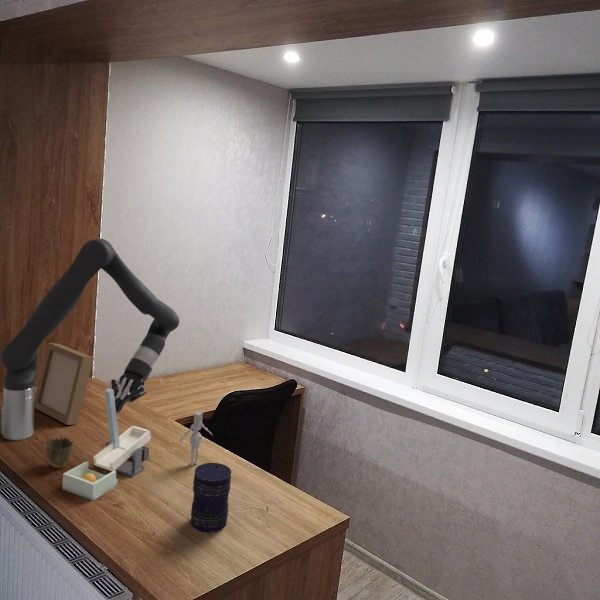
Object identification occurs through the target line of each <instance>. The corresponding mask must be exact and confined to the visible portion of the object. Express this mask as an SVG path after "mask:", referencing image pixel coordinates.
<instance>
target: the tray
mask: <svg viewBox="0 0 600 600" xmlns="http://www.w3.org/2000/svg"><path fill="white" fill-rule="evenodd" d="M89 465H90V463H89V461H87V460H86V461H85V462H83V463H81V464H79V465H76V466H75V467H73V468H71V469H69V470H67V471H66V472H64V473H62V490H64V491H66V492H69V493H72V494H74V495H77V496H79V497H82V498H85V499H87V500H90V501H92V502H93V501H95V500H96V499H98V498H99V497H101V496H103V495H105V494H106V493H107V492H109V491H111V490H112V489H114V488H115V487H117V486H118V483H119V482H118V478H117V472H116V471H110V472H109V473H107V474H104V473H102V472H98V471H96V470H93V469H89ZM88 473H91V474H93V475H95V477H96V481H95V482H94V483H93V482H90V481H87V480H84V479H83V477H84V476H85V475H86V474H88Z"/></svg>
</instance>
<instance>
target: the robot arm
mask: <svg viewBox="0 0 600 600" xmlns="http://www.w3.org/2000/svg"><path fill="white" fill-rule="evenodd" d="M100 270H102V271H104V272H105V273H106V274H107V275H109V277H111V278H112V280H113V281H114V282H115V283H116V284H117V286H118V287H119V289H120V290H121V292H122V293H123V294H124V296H125V297H126V298H127V299H128V301H130V303H131V304H132V305H133V306H134V307H136V309H137V310H138V311H139V312H140V313H141V314H142V315H149V316H150V317H151V318H153V320H152V322H151V324H150V326H149V328H148V330H147V332H146V335H145V337H144V338H143V340H141V343H140V345H139V346H138V348H137V349H136V350H135V352H134V354H133V355H132V357H130V360H129V362H128V364H127V365H126V366H125V368H124V371H123V374H122V375H121V376H120V378H119V379H111V382H110V384H111V389H113V390H114V399H115V408H116V414H119V412H121V411H122V409H123V408H124V406H125V404H126V403H130V404H131V403H133V402H134V401H136V400H138V399H139V398H141V397H143V396H144V395H146V394H147V389H145V387H144V385H145V382H147V380H148V378H149V377H150V374H151V373H152V371H153V369H154V368H155V366H156V363H157V362H158V359H159V356H161V353H162V352H163V350H164V348H165V345H166V340H167V338H168V336H169V334H171V332H173V331H175V329H177V328H178V327H179V325H180V318H179V315H178V314H177V312H176V311H175V310H174V309H173V308H171V307H170V306H169V305H167V304H166V303H165V302H163V301H162V300H160V299H159V298H157V297H156V296H155V295H154V293H153V292H152V291H151V290H150V289H149V288H148V287H147V286H146V285H145V284H144V283H143V282H142V281H141V280H140V279H139V278H138V277H137V276H136V275H135V274H134V273H133V272H132V270H131V269H130V268H129V267H128V266H127V265H126V264H125V262H124V261H123V260H122V258H121V257H120V256H119V253H117V251H116V249H115V248H114V247H113V245H112V244H111V243H110V242H109V241H108V240H106V239H104V238H92V239H90V240H88V241H86V242H85V243H84V244H83V245H82V246H81V248H80V250H79V251H78V253H77V255H76V256H75V258H74V260H73V262H71V264H70V265H69V267H68V269H67V270H66V271H65V273H64V274H63V275H61V276H60V278H59V279H58V280H57V281H55V283H54V284H53V286H52V287H51V288H50V289H49V290H48V291H47V293H46V294H45V295H44V296H43V298H42V299H41V301H40V302H39V303H38V305H36V308H35V309H34V311H33V312H32V313H31V315H30V316H29V319H28V320H27V322H26V323H25V325H24V326H23V328H22V329H21V330H20V331H19V332H18V333H17V334H16V335H15V337H14V338H12V339H11V341H9V342H8V343H7V344H6V345H5V346H4V347H3V348H2V351H1V355H0V359H1V360H0V361H1V363H2V365H3V366H4V367H5V368H6V370H5V375H4V378H3V398H2V399H3V402H2V403H3V406H2V407H1V408H0V435H2V437H3V438H4V439H6V440H10V441H20V440H25V439H28V438H30V437H32V436H33V435H34V425H35V422H34V420H35V408H34V400H35V385H36V384H35V382H36V381H35V380H36V377H37V372H38V371H37V369H38V367H37V366H38V350H39V348H40V347H41V346H42V345H41V344H42V343H43V342H44V341H45V339H46V338H47V337H48V336H49V335H51V333H53V331H54V330H56V329H57V328H58V327H59V326H60V325H61V324H62V323H63V321H64V320H65V319H66V318H67V317H68V315H70V313H71V312H72V311H73V309H74V308H75V306H77V303H79V302H78V301H79V300H80V298H81V296H82V294H83V292H84V290H85V289H86V286H87V284H88V283H89V282H90V281H91V279H93V278H94V276H95V275H96V274H97V273H98V272H99V271H100Z"/></svg>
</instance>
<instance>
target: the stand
mask: <svg viewBox="0 0 600 600" xmlns="http://www.w3.org/2000/svg"><path fill="white" fill-rule="evenodd" d="M110 443H111V440H110V439H109V440H107V441H106V442H105V447H106V446H108V445H109V444H110ZM149 457H150V447H147V446H145V445H143V446H142V447H141V448H140V447H139V448H138V449H136V450H134V451H133V455H132V456H131V457H130V458H132V462H130V461H128V460H126V461H125V462H124V463H123V464H121V465H120V466H119V467H118V468H117V469H116V470H115V471H116V473H118V474H121V475H124V476H127V477H130V478H134V477H135V476H137V475H138V474H140V473H141V472H143V471H144V470H146V469H145V468H146V467H145V466H142V462H145V461H147V460H149Z"/></svg>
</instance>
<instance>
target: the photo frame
mask: <svg viewBox="0 0 600 600" xmlns="http://www.w3.org/2000/svg"><path fill="white" fill-rule="evenodd" d="M93 361H94V357H93V356H91V355H88V354H87V353H84V352H81V351H78V350H75V349H73V348H71V347H69V346H66V345H62V344H60V343H55V342H54V343H53V342H48V344H47V349H46V351H45V356H44V360H43V364H42V368H41V372H40V376H39V379H38V380H39V381H38V385H37V387H36V388H37V389H36V391H35V392H36V393H35V395H34V409H37V410H38V411H40V412H42V413H44V414H45V415H48V417H51V418H53V419H55V420H57V421H59V422H60V423H62V424H64V425H67V426H68V425H69V426H71V425H78V424H79V420H80V416H81V411H82V408H83V403H84V399H85V394H86V393H87V392H86V391H87V388H88V383H89V379H90V375H91V370H92V366H93Z"/></svg>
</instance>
